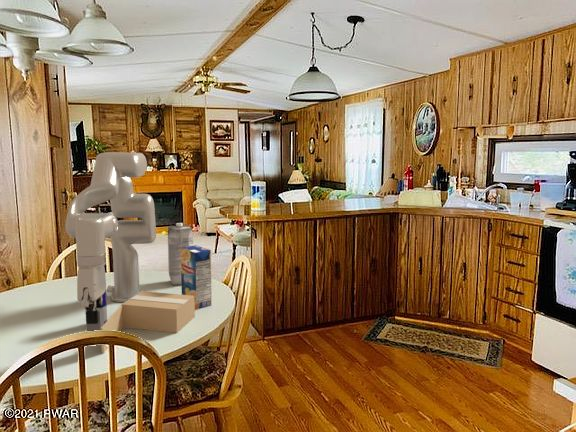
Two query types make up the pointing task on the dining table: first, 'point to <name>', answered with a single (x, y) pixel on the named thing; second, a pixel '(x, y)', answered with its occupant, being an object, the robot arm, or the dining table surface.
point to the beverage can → (104, 306)
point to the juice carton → (177, 249)
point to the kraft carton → (158, 311)
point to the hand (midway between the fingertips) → (94, 320)
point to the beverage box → (196, 274)
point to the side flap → (112, 323)
